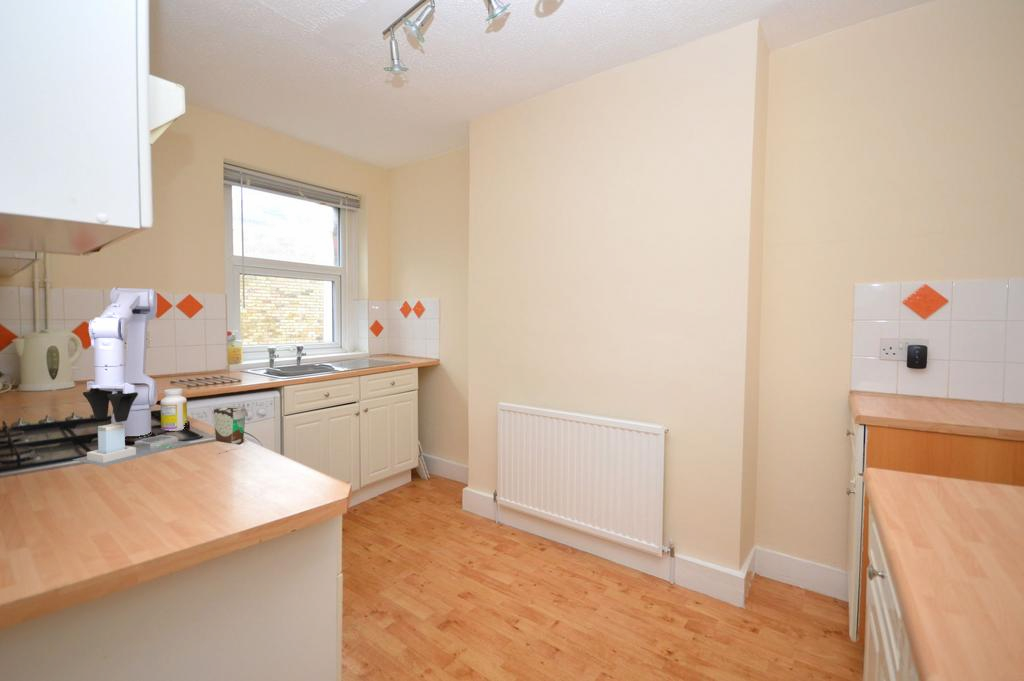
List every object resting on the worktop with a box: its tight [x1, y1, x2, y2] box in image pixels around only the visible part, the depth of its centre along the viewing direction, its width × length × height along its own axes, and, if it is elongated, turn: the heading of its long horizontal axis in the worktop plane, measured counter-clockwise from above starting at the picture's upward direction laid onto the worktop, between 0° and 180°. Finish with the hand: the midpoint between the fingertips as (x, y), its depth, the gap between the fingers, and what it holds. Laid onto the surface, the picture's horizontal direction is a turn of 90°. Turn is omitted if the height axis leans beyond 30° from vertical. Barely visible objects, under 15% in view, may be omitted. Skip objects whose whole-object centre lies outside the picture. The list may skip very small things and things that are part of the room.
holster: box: [86, 445, 136, 463], centre depth 113 cm, size 6×7×2 cm
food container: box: [211, 405, 249, 446], centre depth 131 cm, size 12×6×10 cm, turn 58°
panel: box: [72, 440, 193, 467], centre depth 118 cm, size 12×21×1 cm, turn 161°
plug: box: [97, 423, 126, 454], centre depth 113 cm, size 3×4×8 cm
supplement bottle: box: [159, 388, 188, 432], centre depth 142 cm, size 7×7×13 cm
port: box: [134, 434, 179, 451], centre depth 122 cm, size 8×7×2 cm
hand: (111, 419), depth 112 cm, fingers open, 7 cm apart
